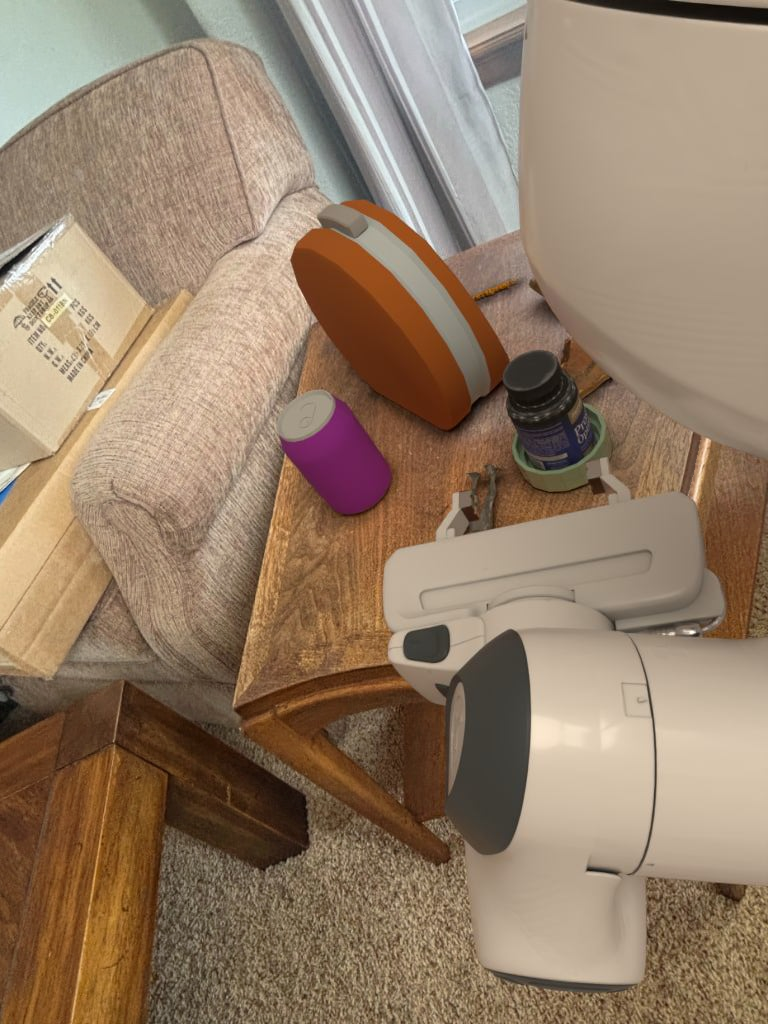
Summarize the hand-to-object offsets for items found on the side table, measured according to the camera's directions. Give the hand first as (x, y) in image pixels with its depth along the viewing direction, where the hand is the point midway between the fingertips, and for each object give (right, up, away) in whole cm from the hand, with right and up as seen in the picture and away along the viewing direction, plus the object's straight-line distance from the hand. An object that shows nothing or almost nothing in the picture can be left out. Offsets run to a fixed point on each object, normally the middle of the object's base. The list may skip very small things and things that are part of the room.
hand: (530, 480), depth 51 cm
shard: (+11, +11, +21) cm, 26 cm away
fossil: (+12, +20, +28) cm, 36 cm away
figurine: (-1, -4, +16) cm, 17 cm away
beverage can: (-12, 0, +26) cm, 29 cm away
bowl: (+7, +3, +17) cm, 18 cm away
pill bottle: (+7, +3, +16) cm, 18 cm away
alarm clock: (-4, +12, +31) cm, 34 cm away
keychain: (+2, +24, +36) cm, 44 cm away
